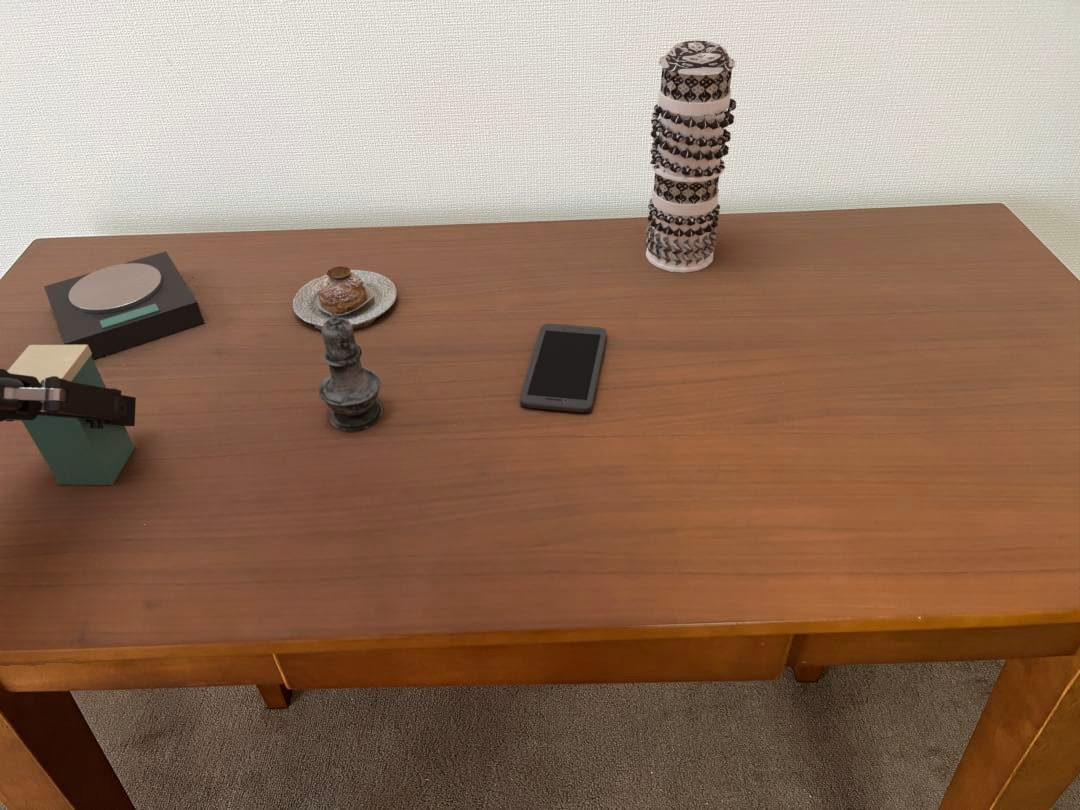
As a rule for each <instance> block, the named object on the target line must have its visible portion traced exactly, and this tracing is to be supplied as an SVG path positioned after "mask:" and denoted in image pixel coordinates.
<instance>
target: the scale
mask: <svg viewBox="0 0 1080 810" xmlns="http://www.w3.org/2000/svg"><path fill="white" fill-rule="evenodd" d="M128 263H139V264H146V265H150V266H152V267H154V268H156V269H157V270H158V271H159V272H160V274H161V277H162V285H161V287H160V289H159V290H158V291H157V293H156V294H154V295H153V296H152V297H151V298H149V299H148V300H146V301H144V302H143V303H141V304H139V305H136V306H134V307H131V308H128V309H125V310H122V311H117V312H112V313H104V314H92V313H85V312H81V311H79V310H77V309H75V308H74V307H73V306H72V304H71V303H70V300H69V292H70V290H71V288H72V287H73V286H74V284H75V283H77V282H78V281H79V280H80V279H82V278H83V277H85V276H87V275H89V274H90V273H93V272H94V271H92V272H89V273H85V274H81V275H79V276H74V277H72V278H68V279H65V280H61V281H58V282H55V283H51V284H48V285H44V287H43V288H44V290H45V294H46V296H47V299H48V302H49V304H50V305H49V306H50V307H51V310H52V314H53V316H54V319H55V322H56V325H57V327H58V330H59V333H60V336H61V340H62V342H63V345H88V346H89V348H90V350H91V352H92V355H91V357H92V359H93V361H95V360H98V359H100V358H103V357H106V356H109V355H112V354H115V353H118V352H121V351H124V350H127V349H131V348H133V347H137V346H139V345H143V344H145V343H149V342H151V341H154V340H157V339H161V338H163V337H167V336H170V335H172V334H176V333H179V332H182V331H186V330H189V329H191V328H195V327H197V326H200V325H203V324H205V319H204V317H203V315H202V312H201V309H200V306H199V302H198V300H197V299H196V298H195V296H194V294H193V293H192V291H191V289H190V287H189V286H188V284H187V283H186V281H185V280H184V278H183V276H182V274H181V273H180V271H179V270H178V268H177V266H176V265H175V263H174V261H173V260H172V258H171V257H170V255H169V254H168V252H167V250H166V251H161V252H157V253H154V254H151V255H148V256H145V257H140V258H138V259H134V260H131V261H130V260H129V261H126V262H123V263H122V264H128Z"/></svg>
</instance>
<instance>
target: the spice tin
mask: <svg viewBox="0 0 1080 810" xmlns="http://www.w3.org/2000/svg"><path fill="white" fill-rule="evenodd" d="M91 355H92V352H91V350H90V348H89V346H88V345H64V344H29V345H28V346H27V347H26V348H25V349H24V351H23V352H22V353H21V354H20V355H19V356H18V358H17V359H16V360H15V361H14V362H13V363H12V365H11V366H10V367H9V368H8V369H6V370H7V371H8V372H9V373H11V374H18V375H26V376H34V377H36V378H37V379H38V381H39V383H41V380H43V379H45V378H48V377H51V376H57V377H58V378H61V379H65V380H67V381H70V382H75V383H81V384H87V385H92V386H98V387H104V388H107V386H106V384H105V382H104V380H103V378H102V375H101V373H100V371H99V369H98V368H97V367H98V366H97V365H96V363H95V360H93V359H92V357H91ZM21 423H23V425H24V427H25V429H26V431H27V432H28V434H29V435H30V437H31V439H32V441H33V442H34V445H35V446H36V447H37V449H38V451H39V453H40V454H41V456H42V458H43V459H44V461H45V463H46V465H47V466H48V468H49V470H50V471H51V473H52V475H53V477H54V479H55V480H56V482H57V484H58V485H59V486H114V483H115V482H116V480H117V478H118V476H119V475H120V474H121V471H122V470H123V469H124V467H125V465H126V463H127V462H128V460H129V458H130V456H131V455H132V453H133V452H134V450H135V448H136V447H135V445H134V443H133V441H132V439H131V436H130V435H129V433H128V430H127V428H126V426H121V425H112V424H104V426H103V429H92V428H90V422H86V419H76V418H63V417H50V416H37V417H36V418H35V419H34V420H22V422H21Z"/></svg>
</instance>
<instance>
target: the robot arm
mask: <svg viewBox="0 0 1080 810" xmlns="http://www.w3.org/2000/svg"><path fill="white" fill-rule="evenodd" d="M7 370H8V369H4V368H0V422H4V421H5V422H14V421H20V422H21V423H23V422H22V420H34V419H35V418H36V417H37V416H50V417H63V418H76V419H86V422H90V428H92V429H103V426H104V424H112V425H121V426H125V427H135V426H136V407H137V406H136V405H137V404H136V403H137V397H135V396H131V395H130V396H129V395H124V394H122V390H121V389H118V388H113V387H112V388H108V387H106V388H104V387H98V386H92V385H87V384H81V383H75V382H70V381H67V380H65V379H61V378H58V377H57V376H51V377H48V378H45V379H43V380H41V383H39V381H38V379H37V378H36V377H34V376H26V375H18V374H11V373H9V372H8V371H7Z"/></svg>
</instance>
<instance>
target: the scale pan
mask: <svg viewBox="0 0 1080 810" xmlns="http://www.w3.org/2000/svg"><path fill="white" fill-rule="evenodd" d="M92 272H93V273H92ZM92 272H89V273H90V274H89V273H88V274H89V275H87V276H85V277H83V278H82V279H80V280H79V281H78V282H77V283H75V284H74V286H73V287H72V288H71V290H70V292H69V300H70V303H71V304H72V306H73V307H74V308H75V309H77V310H79V311H81V312H85V313H92V314H104V313H112V312H117V311H122V310H125V309H128V308H131V307H134V306H136V305H139V304H141V303H143V302H144V301H146V300H148V299H149V298H151V297H152V296H153V295H154V294H156V293H157V291H158V290H159V289H160V287H161V285H162V277H161V274H160V272H159V271H158V270H157V269H156V268H154V267H152V266H150V265H146V264H139V263H128V264H123V263H120V264H114V265H111V266H105V267H104V268H100V269H98V270H94V271H92Z"/></svg>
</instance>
